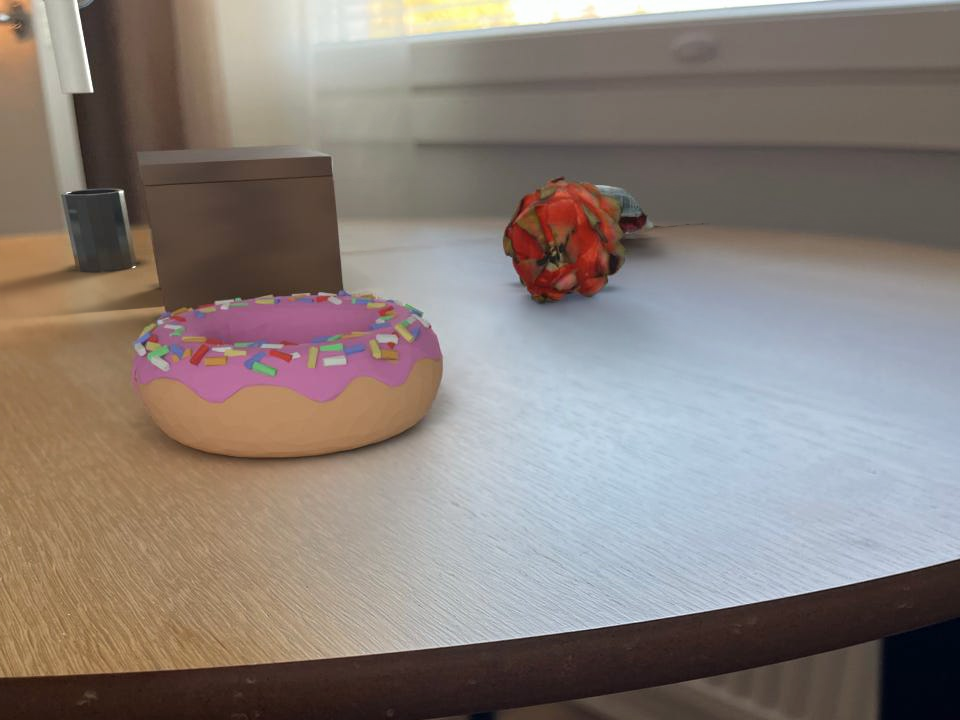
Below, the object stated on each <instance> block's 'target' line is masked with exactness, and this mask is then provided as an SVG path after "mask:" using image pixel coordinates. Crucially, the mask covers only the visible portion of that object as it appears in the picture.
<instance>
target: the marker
mask: <svg viewBox="0 0 960 720" xmlns="http://www.w3.org/2000/svg"><path fill="white" fill-rule="evenodd" d="M43 3H44V7H45V8H44V9H45V13H46V19H47V23H48V28H49V34H50V39H51V43H52V49H53V55H54V59H55V64H56V71H57V75H58V80H59V86H60V91H61V93H62V94H65V95H66V94H67V95H69V94H92V93H94V88H93V82H92V77H91V69H90V65H89V60H88V54H87V47H86V44H85V38H84V31H83V28H82V27H83V25H82V21H81V15H80V9H78V4H77V0H44V1H43Z"/></svg>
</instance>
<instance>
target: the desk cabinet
mask: <svg viewBox="0 0 960 720" xmlns="http://www.w3.org/2000/svg"><path fill="white" fill-rule="evenodd" d="M136 157H137V164H138V169H139V175H140V180H141V181H140V182H141V186H142V192H143V199H144V204H145V210H146V215H147V222H148V227H149V233H150V239H151V245H152V250H153V256H154V262H155V270H156V273H157V280H158V285H159V290H161V295H162V300H163V304H164V311H165V312H170V313H172V312H174V311H177V310H179V309H181V308H184V307H185V308H187V309H189V308H192V309H193V310H196V309H198V306H201V305H207V304H213V303H214V304H215V301H223V300H233V299H234V301H235V298H241V300H248V299H255V298H258V297H263V296H268V295H273V297H277V296H284V297H285V296H292V294H304V293H310V295H318V293H319V292H323V293H330V294H337V295H338V294H339V291H344V281H343V268H342V258H341V246H340V234H339V226H338V225H339V224H338V212H337V201H336V200H337V199H336V188H335V177H334V168H333V167H334V166H333V156H332V155H330V154H327V153H324V152H321V151H318V150H316V149H312V148H310V147H307V146H304V145H301V144H280V145H258V146H238V147H217V148H213V147H212V148H195V149H194V148H192V149H172V150H171V149H170V150H149V151H136ZM338 296H340V295H338ZM165 312H164V313H165Z"/></svg>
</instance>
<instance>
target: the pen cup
mask: <svg viewBox="0 0 960 720" xmlns="http://www.w3.org/2000/svg"><path fill="white" fill-rule="evenodd" d="M60 198H61V202H62V207H63V212H64V216H65V221H66V226H67V231H68V236H69V240H70V247H71V251H72V255H73V256H72V257H73V260H74V264H75V265H74V266H75V269H76V271H77V272H82V273H109V272H110V273H111V272H120V271H124V270H125V271H126V270H130V269H134V268H136V267H137V266H138V264H137V258H136V252H135V247H134V242H133V241H134V240H133V236H132V231H131V224H130V219H129V214H128V209H127V208H128V207H127V203H126V197H125V191H124V189H121V188H90V189H77V190H70V191H64V192H61V193H60Z"/></svg>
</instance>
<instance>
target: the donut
mask: <svg viewBox="0 0 960 720" xmlns="http://www.w3.org/2000/svg"><path fill="white" fill-rule="evenodd" d="M338 295H340V296H338ZM338 295H337V294H330V293H323V292H319V293H318V295H310V293H304V294H292V296H285V297H284V296H277V297H273V295H268V296H263V297H258V298H255V299H248V300H241V298H235V301H234V299H233V300H223V301H215V304H214V303H213V304H207V305H201V306H198V309H196V310H193V309H192V308H189V309H187V308H185V307H184V308H181V309H179V310H177V311H174V312H172V313H170V312H164V313H163V314H161V316H159V318H157V319H156V320H155V321H154V322H153V323H150V324H149V325H146V326H145V327H144V328H143V330H142V332H141V333H140V336H139V337H138V338H137V339H136V340H135V341H134V342H132V343H131V344H132V346H133V348H134V351H136V354H135V355H134V358H133V361H132V364H131V365H132V367H131V381H132V386H133V388H134V390H135V392H136V395H137V397H138V398H139V401H141V403H142V405H143V407H144V408H145V410H146V412H147V414H149V416H150V417H151V419H152V420H153V421H154V423H155V424H156V426H157V427H158V428H159V429H160V430H161V431H162V432H164V434H166V435H167V436H168V437H169V438H170V439H172V440H174V441H176V442H178V443H180V444H181V445H184V446H186V447H190V448H192V449H195V450H199V451H203V452H206V453H209V454H216V455H223V456H229V457H235V458H237V457H238V458H249V459H251V458H253V459H254V458H256V459H257V458H258V459H261V458H262V459H263V458H264V459H265V458H299V457H300V458H301V457H310V456H312V457H313V456H320V455H327V454H333V453H338V452H344V451H350V450H355V449H358V448H361V447H365V446H369V445H373V444H376V443H379V442H383V441H385V440H388V439H390V438H392V437H395V436H398V435H400V434H401V433H403V432H405V431H407V430H408V429H410V428H412V427H413V426H415V425H417V424H418V423H419V421H421V419H423V418H424V417H425V416H426V414H427V413H428V412H429V411H430V410H431V408H432V406H433V404H434V402H435V399H436V397H437V395H438V392H439V390H440V386H441V382H442V378H443V372H444V371H443V370H444V357H443V353H442V350H441V346H440V342H439V338H438V335H437V334H436V333H435V331H434V330H433V328H432V325H431V323H430V322H429V321H428V320H425V318H423V315H424V312H423V311H421V310H419V309H417V308H415V307H414V306H412V305H410V304H408V303H405V305H404V304H403V303H402V302H401V301H399V300H398V299H396V300H394V299H389V298H388V299H386V298H382V297H380V296H379V297H375V295H373V294H372V293H369V294H361V295H360V294H354V295H353V296H352V295H351V294H349V293H348V292H346V291H345V290H343V291H339V294H338Z"/></svg>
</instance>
